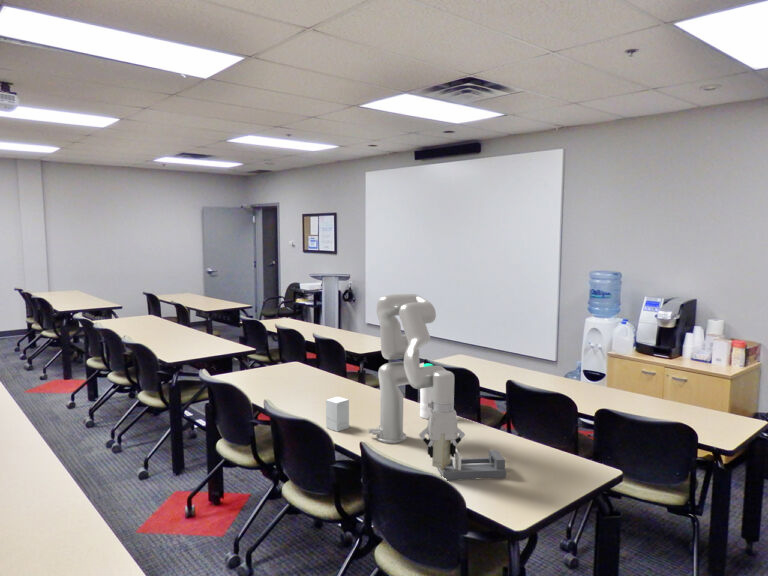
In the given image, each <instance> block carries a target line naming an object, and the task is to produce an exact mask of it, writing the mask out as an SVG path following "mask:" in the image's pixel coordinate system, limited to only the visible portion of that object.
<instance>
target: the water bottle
mask: <svg viewBox="0 0 768 576" xmlns="http://www.w3.org/2000/svg"><path fill="white" fill-rule="evenodd" d="M426 366H434V364H432V363H424V364H423V365H422V367H426ZM419 390H420V391H419V392H420V393H419V394H420V401H419V408H420V409H419V417H420V418H421V419H425V420H428V418H429V412H430V409H432V408H430V407H428V404H430V403H431V402H432V387H430V388H423V389H419Z"/></svg>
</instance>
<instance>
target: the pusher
mask: <svg viewBox="0 0 768 576" xmlns="http://www.w3.org/2000/svg"><path fill="white" fill-rule="evenodd" d="M461 458H462V455H461V454H460V452H459V451H458V449H457V448H456V454H454V457H452V459H453V466H454V468H455V470H461V467H473V466H494V463H473V464H461Z"/></svg>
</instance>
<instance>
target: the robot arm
mask: <svg viewBox="0 0 768 576" xmlns="http://www.w3.org/2000/svg"><path fill="white" fill-rule="evenodd" d="M376 314H377V319H378V321H379V327H380V328H379V330H380V352H381V355H382V357H383V358H384V359H385V360H402V359H403V361H394V362H387V363H384V364H382V365H381V366H380V367H379V368H378V372H377V373H378V381H379V391H380V392H379V395H380V397H379V398H380V399H379V400H380V401H379V402H380V406H379V407H380V408H379V409H380V410H379V411H380V415H379V421H380V422H379V425H378V427H376V428H368V434H372V436H376V437H375V438H376V440H377V441H379V442H381V443H384V444H400V443H403V442H405V441H406V440H407V439H408V438H407V434H406V433H405V432H404V394H403V393H402V391H401V390H400V388H399V386H405V385H410V387H412V388H413V389H416V390H420V389H423V388H430V387H432V402H431V403H430V404H428V407H430V408H432V409H430V412H429V418H428V419H427V426H426V428H424V429H423V430H422V431H421V432H420V433H419V434H418V435H419V438H421V440H422V441H423V442H424V443H425V444H426V445H427V455H429V458H430V459H431V458H432V457H433V442H434V441H439V440H440V435H441V434H445V440H451V458H453V457H454V454H456V449H457V447H456V446H458V444H459V443H460V442H461V441H462V439H463V438H464V437H465V436H466V434H465V432H464V431H462V430H461V428H459V427H458V416H457V411H456V410H455V408H454V406H455V399H454V398H455V374H454V373H453V372H452V371H450V370H447V369H445V368H444V367H443V366H441V365H433V366H426V367H423V366H421V365H420V349H421V348H422V347H424V346H426V345H427V344H428V343H429V342H430V340H431V335H430V332H429V330H428V327H427V325H426V324H432V323H434V322H435V320H436V317H437V313H436V309H435V307H434V305H433V304H432V303H431V301H428V300H427V299H426V298H423V297H421V296H420V295H418V294H414V293H409V294H408V293H406V294H405V293H404V294H403V293H402V294H401V293H400V294H387V295H383V296H381V297H380V298H379V299H378V300H377V303H376ZM396 316H398V317H399V319H400V321H399V319H398V318H397V317H396ZM402 328H403V331H404V334H402ZM420 366H421V367H420ZM426 435H428V438H427V437H426Z"/></svg>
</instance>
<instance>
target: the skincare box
mask: <svg viewBox="0 0 768 576" xmlns="http://www.w3.org/2000/svg"><path fill="white" fill-rule="evenodd" d="M451 442H452V441H451V440H445V434H441V435H440V440H439V441H434V442H433V444H432V446H433V457H432V459H431V460H432V464H431V465H432V467H434V468H437V469H438V468H441V469H444V468H445V467H446V466H447V465H449V464H450V459H451V458H452V456H451Z"/></svg>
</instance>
